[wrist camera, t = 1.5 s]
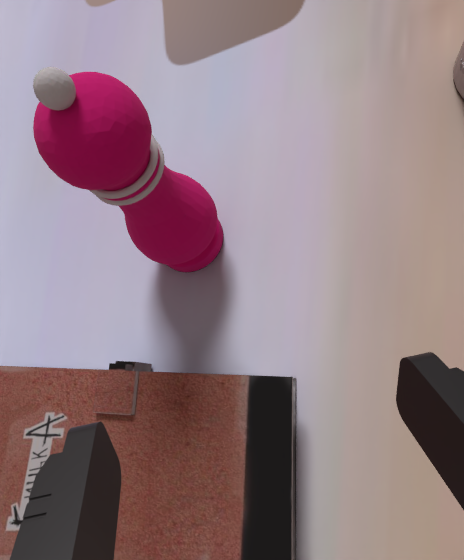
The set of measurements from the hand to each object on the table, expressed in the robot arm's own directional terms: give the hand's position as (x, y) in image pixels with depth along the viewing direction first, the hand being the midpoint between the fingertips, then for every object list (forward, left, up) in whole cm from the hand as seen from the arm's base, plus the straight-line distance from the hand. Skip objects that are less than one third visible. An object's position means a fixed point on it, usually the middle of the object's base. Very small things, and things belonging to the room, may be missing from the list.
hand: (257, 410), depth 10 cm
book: (+15, 0, -22) cm, 26 cm away
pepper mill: (+3, -16, -21) cm, 27 cm away
